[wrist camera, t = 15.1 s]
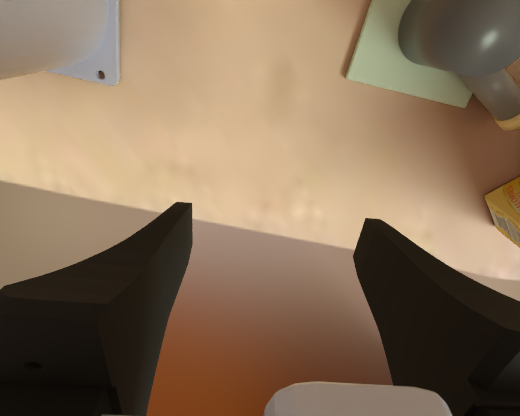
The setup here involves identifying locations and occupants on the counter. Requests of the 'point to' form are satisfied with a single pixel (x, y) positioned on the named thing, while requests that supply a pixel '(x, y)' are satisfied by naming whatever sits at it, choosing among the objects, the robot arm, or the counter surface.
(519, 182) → the candy box
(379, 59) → the plate
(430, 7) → the grey tapered rounded piece
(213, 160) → the counter surface
